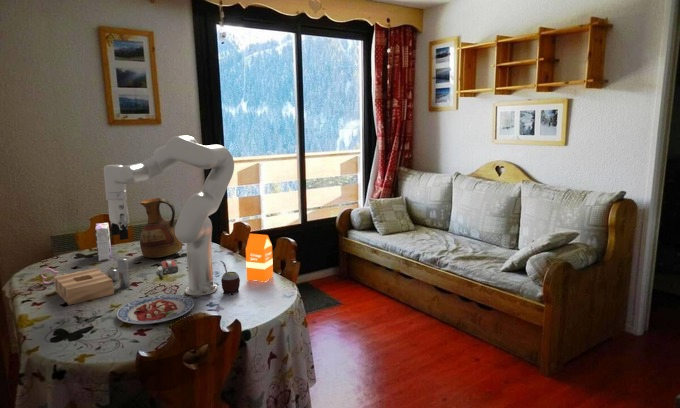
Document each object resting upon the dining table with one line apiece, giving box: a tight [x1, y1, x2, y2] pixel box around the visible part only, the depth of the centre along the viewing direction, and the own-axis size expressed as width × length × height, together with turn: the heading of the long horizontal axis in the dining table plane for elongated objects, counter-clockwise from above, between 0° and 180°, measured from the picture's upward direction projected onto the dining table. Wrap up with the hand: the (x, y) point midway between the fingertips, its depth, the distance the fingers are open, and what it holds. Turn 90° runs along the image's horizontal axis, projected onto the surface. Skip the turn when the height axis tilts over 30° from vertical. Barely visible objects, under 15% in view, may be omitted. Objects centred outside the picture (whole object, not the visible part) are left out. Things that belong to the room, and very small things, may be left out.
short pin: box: [107, 268, 119, 284], centre depth 198 cm, size 4×4×5 cm
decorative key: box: [40, 267, 80, 285], centre depth 199 cm, size 7×1×20 cm
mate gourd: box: [220, 260, 241, 296], centre depth 183 cm, size 8×8×15 cm
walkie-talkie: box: [157, 259, 179, 278], centre depth 211 cm, size 9×4×20 cm
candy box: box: [95, 222, 112, 262], centre depth 233 cm, size 14×6×16 cm, turn 25°
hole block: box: [53, 267, 115, 306], centre depth 185 cm, size 20×16×6 cm
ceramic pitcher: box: [139, 197, 183, 259], centre depth 233 cm, size 20×20×30 cm
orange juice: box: [245, 233, 274, 282], centre depth 199 cm, size 8×9×20 cm
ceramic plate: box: [116, 293, 194, 325], centre depth 166 cm, size 26×26×3 cm
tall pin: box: [116, 257, 131, 290], centre depth 190 cm, size 4×4×12 cm
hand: (119, 237), depth 188 cm, fingers open, 9 cm apart
